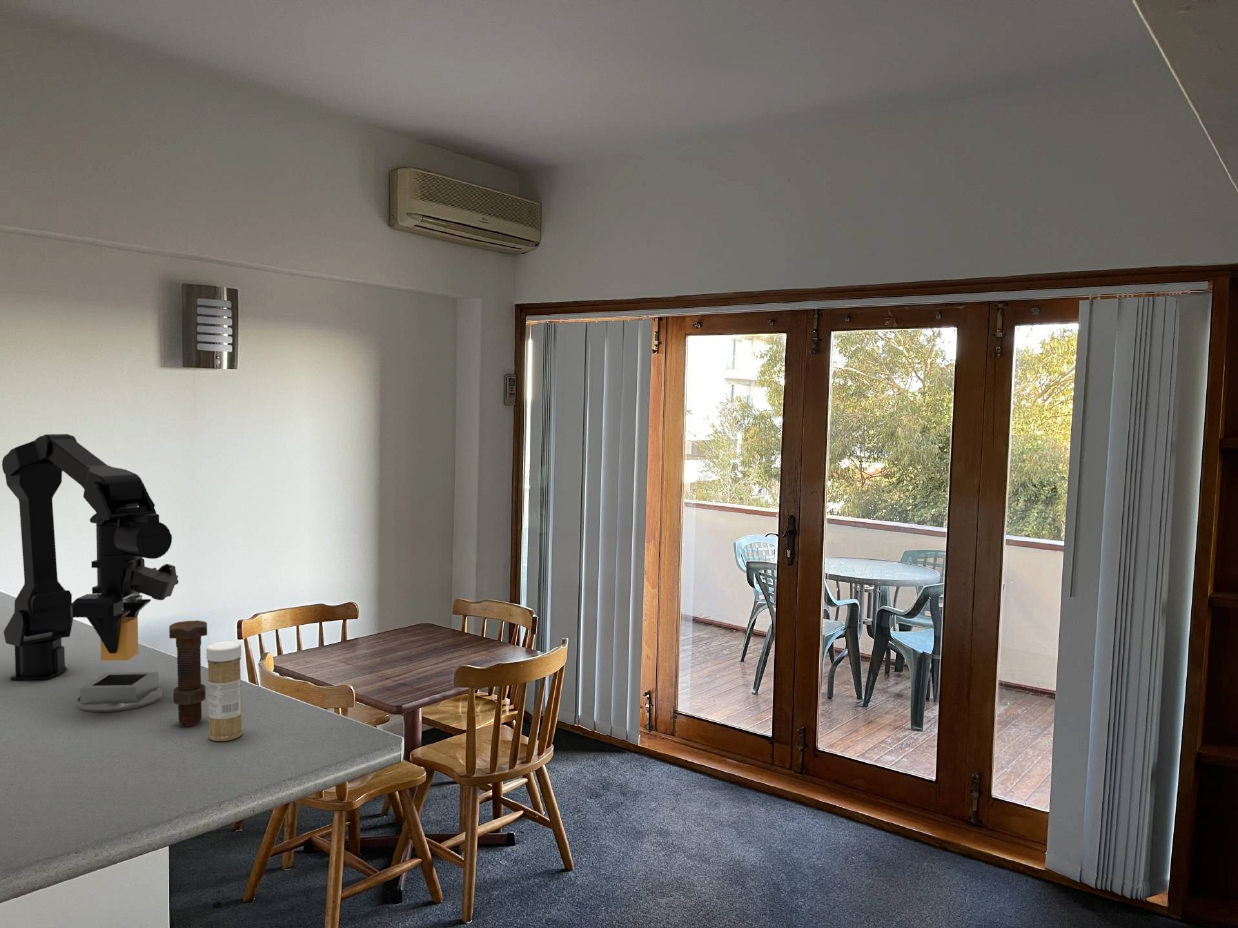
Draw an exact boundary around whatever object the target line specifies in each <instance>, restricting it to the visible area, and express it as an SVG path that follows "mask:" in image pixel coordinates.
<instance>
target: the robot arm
mask: <svg viewBox="0 0 1238 928" xmlns="http://www.w3.org/2000/svg"><path fill="white" fill-rule="evenodd" d="M1 469H2V471H3V474H4V475H5V482H6V486H7V487H8V489H9V490H10V491H11V492H12V494H13V495H14V496H15V498H16V499H17V500H18V504H19V519H20V534H21V535H20V536H21V548H22V549H21V551H22V563H23V564H22V565H23V577H24V582H23V583H24V584H23V586H22V588H21V589H20V591H19V593H18V594H17V596H16V598H15V599H14V613H13V614H12V616H11V617H10V619H9V621H8V623H7V624H6V626H5V628H4V630H3V636H4V641H5V644H8V645H12V646H14V663H15V664H14V665H15V666H14V667H15V669H14V670H15V671H14V672H15V673H14V674H13V675H11V676H10V677H9V680H12V681H22V680H26V681H27V680H51V679H52V678H53V677H56V676H57V675H59V674H60V673H61V674H62V673H63V672H65V671H66V670H67V669H68V666H67V665H66V662H65V661H66V658H65V657H66V655H65V653H66V652H65V646H64V645H62V638H69V637H70V636H71V632H72V627H73V621H74V618H84V619H85V618H86V619H87V620H88V622H89V623H90V625H91V626H92V628H93V629H94V630H95V632H96V634H97V635H98V637H99V638H100V641H101V640H102V642H103V644H104V645H105V647H106V649H107V650H108V652H109V653H117V650H118V644H119V636H120V628H121V621H122V619H123V618H124V617H138V616H139V613H140V611H141V610H142V609H143V608H144V607H146V606H147V605H148V604H149V603H151V601H152V599H154V600H155V601H156V600H157V601H163V600H165V599H167V598H168V597H171V596H172V594H173V592H174V588H175V586H176V585H178V584H179V579H178V578H179V575H177V571H176V570H177V569H176V566H175V565H173V564H169V563H166V564H163V565H161V566H160V568H158V569H157V567H153V568H151V567H148V566H145V563H146V562H145V559H151V560H154V559H159V558H161V557H163V556H164V555H165V554H166V553H168V551H169V549H170V548H171V546H172V543H173V535H172V534H171V530H170V529H169V527H168V526H167V525H166V524H165V523H162V522H161V521H160V515H159V514H158V513H157V511H156V508H155V506H156V504H155V503H154V501H153V499H152V498H151V496H150V495H149V493H148V491H147V487H146V485H145V484H144V482H143V480H142V478H141V477H140V476H139V475H138V474H136V473H135V472H132V471H130V470H127V469H125V468H120V467H119V468H118V467H116V466H115V467H113V466H111V465H109V464H107V463H105V462H104V461H103V460H101V459H100V458H99V457H97V456H96V455H95V454H93V453H92V452H91V451H90V450H88V449H87V448H86V447H85V446H83V445H81V444H80V443H79V442H78V441H77V439H76V437H75V436H74V435H72V434H71V435H70V434H68V433H57V434H56V433H53V434H50V433H47V434H43V435H41V436H38V437H37V438H36V439H34V440H32V441H30V442H26V443H24V444H20V445H19V446H16V447H13V448H12V449H10V450H9V451H8V453H6V454H5V455H4V456H3V458H2V462H1ZM63 472H64V473H65V474H66V475H67V476H69V477H70V478H71V479H72V480H73V481H75V482H76V483H78V485H80V486H81V488H82V489H83V499H85V501H86V502H87V503H88V504H89V506H90V507H91V508H92V509H93V510H94V511H95V514H93V515H92V516H91V517H90V518H89V522H90V523H91V524H95V527H96V528H95V529H96V530H95V531H96V532H95V533H96V534H95V535H96V559H95V560H92V561H91V568H92V569H96V573H97V574H96V579H97V581H96V583H97V584H96V585H95V586H92V587H91V593H86V594H84V595H82V596H80V597H77V598H76V599H74V601H73V602H72V599H73V594H72V593H71V591H70V590H68V589H67V590H66V589H65V588H64V587H63V585H62V584H61V582H59V580H58V568H57V567H58V565H57V564H58V563H57V552H56V536H55V522H54V521H55V520H54V507H53V505H54V504H53V498H54V496H55V494H56V493H57V491H58V489H59V488H60V486H61V484H62V483H63ZM143 595H146V596H148V597H151V598H152V599H151V598H146V599H145V598H143ZM138 618H139V617H138Z"/></svg>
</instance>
